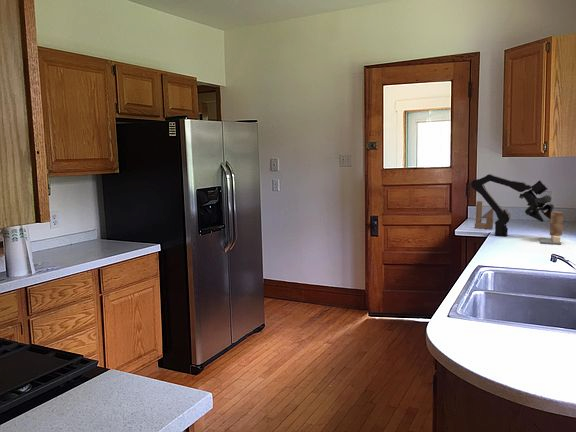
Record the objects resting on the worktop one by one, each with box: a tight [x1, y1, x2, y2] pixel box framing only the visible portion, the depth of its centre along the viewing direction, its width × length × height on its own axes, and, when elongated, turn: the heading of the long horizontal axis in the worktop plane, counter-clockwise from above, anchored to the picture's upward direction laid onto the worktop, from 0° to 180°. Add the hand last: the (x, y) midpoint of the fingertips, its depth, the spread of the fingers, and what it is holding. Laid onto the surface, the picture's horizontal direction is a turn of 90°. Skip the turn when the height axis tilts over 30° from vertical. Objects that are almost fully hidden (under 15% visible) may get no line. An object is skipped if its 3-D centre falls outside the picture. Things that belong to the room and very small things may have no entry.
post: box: [549, 211, 564, 237], centre depth 277 cm, size 4×4×13 cm
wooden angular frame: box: [474, 200, 495, 230], centre depth 328 cm, size 4×11×18 cm, turn 56°
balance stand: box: [537, 235, 562, 246], centre depth 280 cm, size 10×16×4 cm, turn 158°
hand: (548, 221), depth 282 cm, fingers open, 9 cm apart
